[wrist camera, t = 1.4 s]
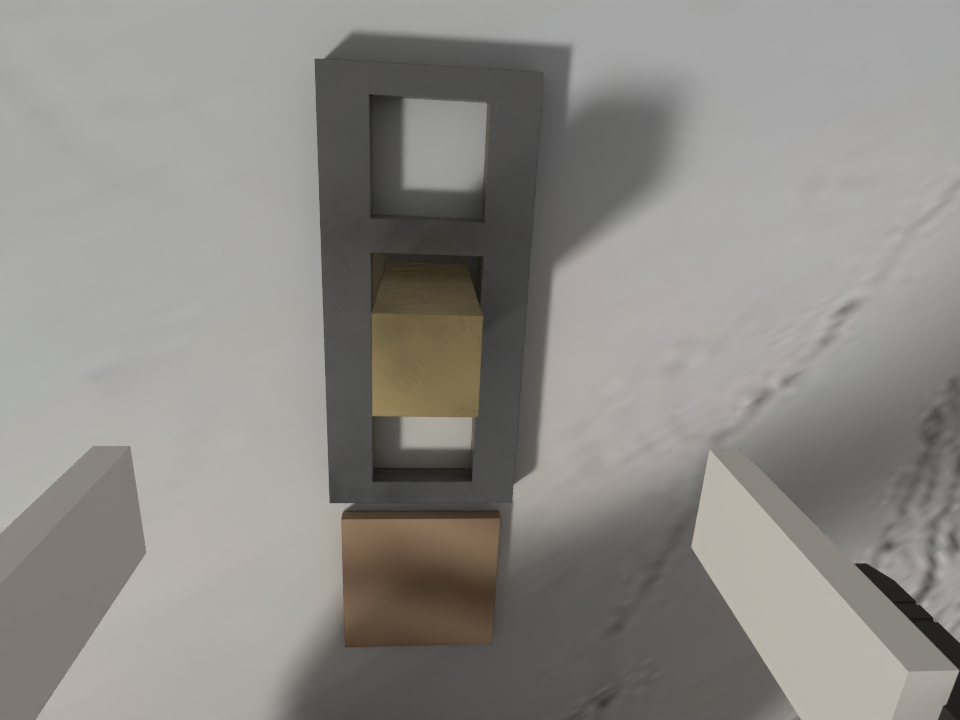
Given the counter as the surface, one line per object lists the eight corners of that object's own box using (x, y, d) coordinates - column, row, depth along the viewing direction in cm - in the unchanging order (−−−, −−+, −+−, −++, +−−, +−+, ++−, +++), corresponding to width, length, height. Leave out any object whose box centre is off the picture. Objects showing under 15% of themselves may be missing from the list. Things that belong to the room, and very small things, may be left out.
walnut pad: (490, 634, 40) (491, 643, 40) (346, 637, 40) (344, 647, 39) (498, 510, 38) (500, 518, 37) (343, 511, 37) (341, 519, 36)
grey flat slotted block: (508, 488, 37) (512, 502, 36) (333, 488, 36) (329, 502, 35) (537, 75, 30) (543, 72, 28) (320, 62, 29) (314, 58, 28)
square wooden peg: (463, 339, 34) (477, 417, 24) (386, 337, 33) (372, 416, 24) (466, 264, 33) (483, 316, 23) (386, 261, 32) (371, 313, 23)
